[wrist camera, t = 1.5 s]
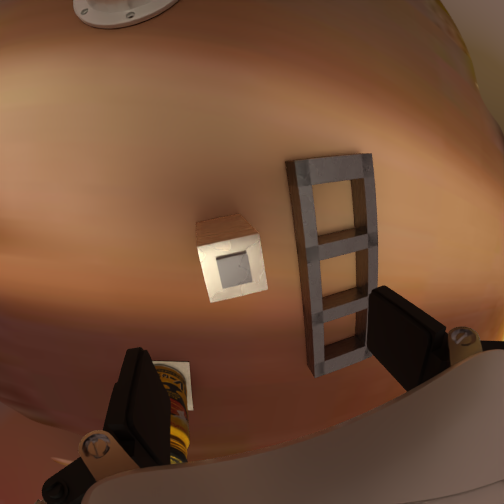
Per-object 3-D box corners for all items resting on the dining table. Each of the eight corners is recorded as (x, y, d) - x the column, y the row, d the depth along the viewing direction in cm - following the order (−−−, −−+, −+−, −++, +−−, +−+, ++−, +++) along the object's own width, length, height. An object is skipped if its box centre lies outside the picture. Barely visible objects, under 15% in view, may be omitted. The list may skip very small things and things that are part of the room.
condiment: (189, 360, 29) (194, 448, 18) (193, 409, 31) (200, 486, 20) (126, 359, 27) (107, 442, 16) (138, 407, 30) (130, 483, 18)
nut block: (195, 222, 25) (196, 248, 17) (239, 213, 25) (260, 234, 17) (205, 263, 26) (210, 305, 18) (246, 254, 27) (269, 291, 19)
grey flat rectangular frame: (285, 161, 25) (294, 160, 22) (357, 153, 26) (371, 153, 23) (307, 365, 32) (314, 377, 30) (362, 345, 34) (372, 356, 31)
